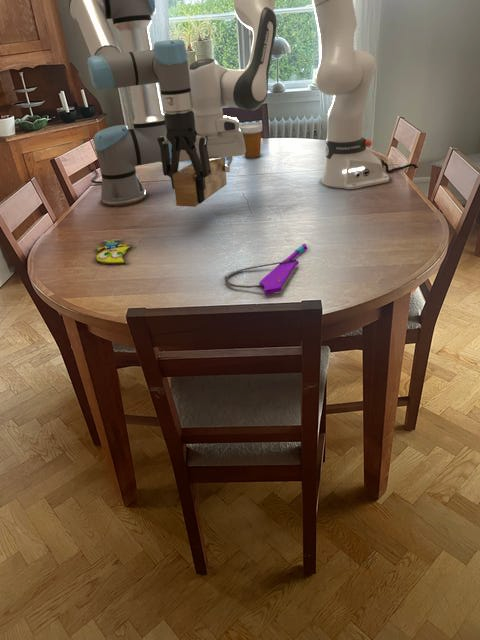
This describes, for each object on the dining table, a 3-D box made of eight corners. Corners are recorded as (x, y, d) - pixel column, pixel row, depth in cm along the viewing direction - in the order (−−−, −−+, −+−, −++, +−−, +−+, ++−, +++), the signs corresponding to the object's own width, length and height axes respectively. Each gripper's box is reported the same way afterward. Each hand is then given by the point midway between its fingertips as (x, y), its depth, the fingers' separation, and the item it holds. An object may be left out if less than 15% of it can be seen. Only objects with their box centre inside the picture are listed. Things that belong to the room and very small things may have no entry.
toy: (135, 237, 135) (125, 260, 122) (135, 240, 135) (125, 263, 123) (99, 239, 135) (85, 263, 122) (100, 242, 135) (86, 266, 123)
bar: (209, 183, 149) (206, 155, 145) (226, 184, 147) (224, 155, 143) (176, 205, 131) (172, 174, 127) (195, 206, 129) (192, 174, 125)
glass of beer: (264, 157, 198) (262, 127, 191) (241, 159, 198) (238, 129, 192) (263, 152, 206) (261, 122, 199) (241, 153, 206) (239, 124, 200)
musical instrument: (224, 303, 104) (316, 286, 101) (222, 294, 103) (315, 277, 100) (230, 261, 125) (306, 246, 122) (228, 253, 124) (305, 239, 121)
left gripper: (138, 114, 120) (154, 204, 133) (206, 113, 114) (216, 207, 126) (153, 109, 126) (167, 195, 138) (218, 107, 120) (227, 198, 132)
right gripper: (171, 130, 133) (178, 179, 141) (244, 123, 134) (247, 172, 141) (172, 125, 139) (179, 173, 146) (242, 118, 139) (245, 166, 147)
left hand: (190, 201), depth 132 cm, fingers closed on bar, 6 cm apart
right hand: (213, 173), depth 144 cm, fingers closed on bar, 7 cm apart
